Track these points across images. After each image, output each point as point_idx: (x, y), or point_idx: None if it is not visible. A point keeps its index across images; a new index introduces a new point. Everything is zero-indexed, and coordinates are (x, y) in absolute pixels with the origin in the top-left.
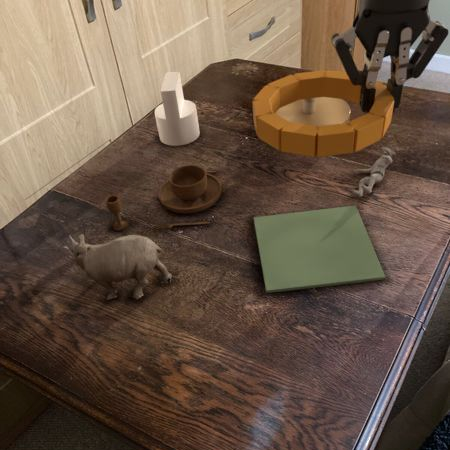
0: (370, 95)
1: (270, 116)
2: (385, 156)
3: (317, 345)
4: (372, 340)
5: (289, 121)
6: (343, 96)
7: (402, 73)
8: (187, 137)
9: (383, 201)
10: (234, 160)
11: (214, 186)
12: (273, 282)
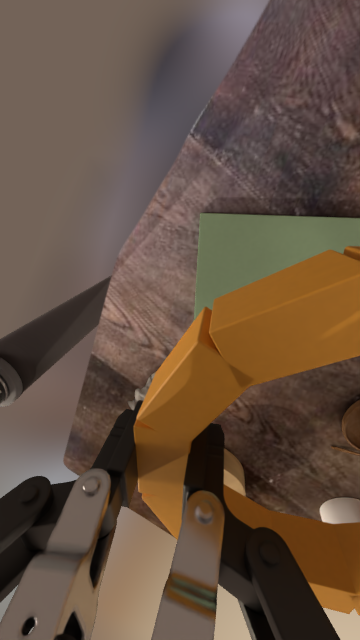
0: (202, 465)
1: None
2: (143, 395)
3: (342, 88)
4: (258, 89)
5: (225, 484)
6: (230, 494)
7: (76, 515)
8: (345, 505)
9: (159, 344)
10: (299, 455)
11: (346, 425)
12: (352, 233)
